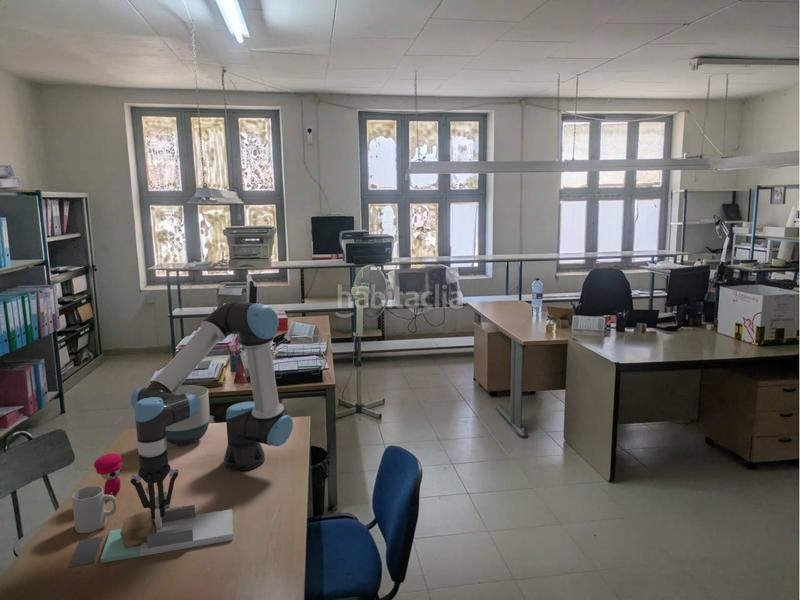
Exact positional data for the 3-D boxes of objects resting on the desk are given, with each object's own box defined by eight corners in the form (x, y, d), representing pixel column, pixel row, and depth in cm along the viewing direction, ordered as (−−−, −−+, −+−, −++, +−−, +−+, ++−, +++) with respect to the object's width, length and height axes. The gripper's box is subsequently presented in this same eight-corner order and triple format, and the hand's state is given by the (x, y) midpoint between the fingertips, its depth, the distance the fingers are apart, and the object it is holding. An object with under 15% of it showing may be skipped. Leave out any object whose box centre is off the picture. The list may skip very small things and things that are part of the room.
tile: (147, 528, 166) (146, 524, 166) (140, 556, 153) (140, 552, 153) (110, 534, 163) (110, 530, 163) (100, 563, 150) (100, 558, 150)
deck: (232, 514, 174) (231, 499, 173) (233, 540, 161) (232, 523, 160) (147, 528, 166) (145, 512, 165) (140, 556, 153) (138, 538, 152)
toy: (113, 504, 180) (109, 462, 177) (91, 501, 181) (87, 459, 179) (130, 491, 188) (127, 450, 185) (109, 489, 190) (105, 448, 187)
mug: (71, 535, 163) (67, 501, 161) (80, 519, 171) (76, 487, 169) (114, 529, 166) (111, 496, 164) (121, 514, 174) (118, 482, 172)
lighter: (170, 504, 180) (168, 481, 179) (169, 507, 178) (168, 484, 177) (147, 507, 178) (145, 484, 177) (146, 510, 176) (144, 487, 175)
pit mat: (103, 539, 162) (102, 536, 162) (93, 566, 150) (93, 563, 150) (80, 543, 161) (80, 540, 160) (68, 570, 148) (68, 567, 148)
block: (158, 524, 164) (154, 509, 163) (154, 539, 156) (150, 524, 155) (130, 532, 162) (126, 517, 161) (124, 548, 155) (120, 533, 154)
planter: (151, 441, 228) (147, 392, 225) (199, 428, 242) (196, 382, 238) (169, 457, 213) (165, 405, 210) (219, 442, 227) (216, 393, 223)
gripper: (177, 443, 162) (183, 516, 166) (130, 449, 158) (137, 524, 162) (175, 454, 155) (181, 530, 159) (126, 460, 151) (133, 538, 155)
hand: (159, 527), depth 160 cm, fingers closed
